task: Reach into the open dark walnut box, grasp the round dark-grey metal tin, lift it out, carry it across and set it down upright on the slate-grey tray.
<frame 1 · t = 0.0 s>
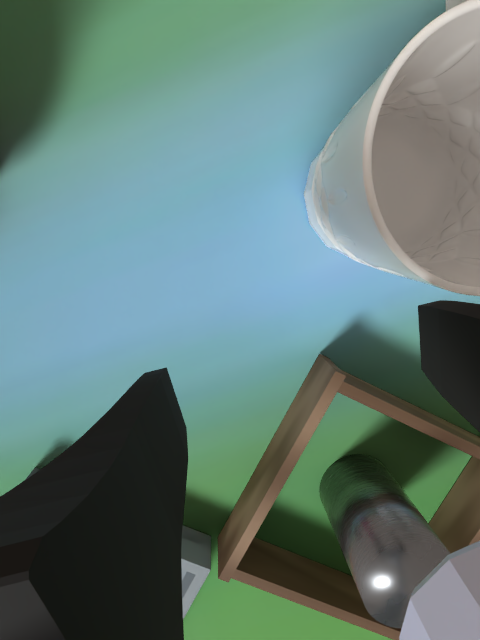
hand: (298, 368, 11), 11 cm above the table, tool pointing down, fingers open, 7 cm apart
slate tray: (88, 576, 24), on the table
white cup: (365, 194, 21), on the table
metal tin: (378, 528, 21), in the walnut box
walnut box: (355, 488, 24), on the table
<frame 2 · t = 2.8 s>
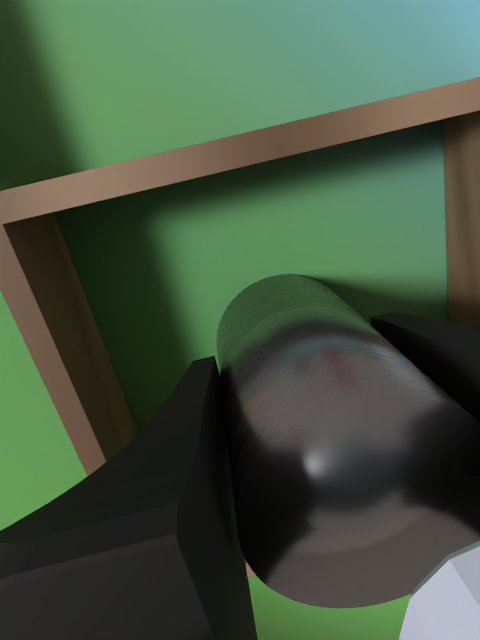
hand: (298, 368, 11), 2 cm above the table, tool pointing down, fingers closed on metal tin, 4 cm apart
metal tin: (313, 398, 10), in the walnut box, touching gripper
walnut box: (284, 340, 13), on the table
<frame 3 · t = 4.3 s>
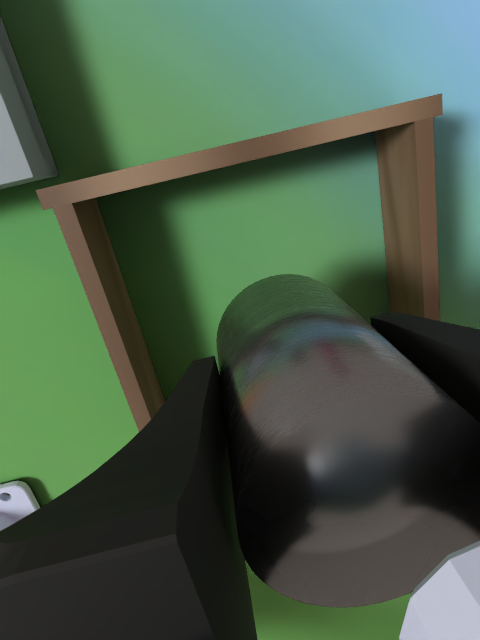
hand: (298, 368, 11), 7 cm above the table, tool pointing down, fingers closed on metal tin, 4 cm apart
metal tin: (313, 397, 10), point 8 cm above the table, touching gripper
walnut box: (263, 296, 17), on the table
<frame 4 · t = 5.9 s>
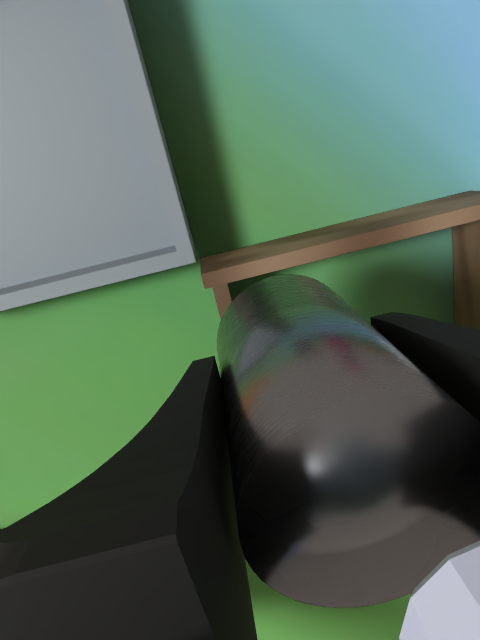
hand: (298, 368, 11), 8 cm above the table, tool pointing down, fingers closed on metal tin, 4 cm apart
slate tray: (26, 150, 16), on the table
metal tin: (314, 398, 10), point 10 cm above the table, touching gripper
walnut box: (351, 341, 21), on the table
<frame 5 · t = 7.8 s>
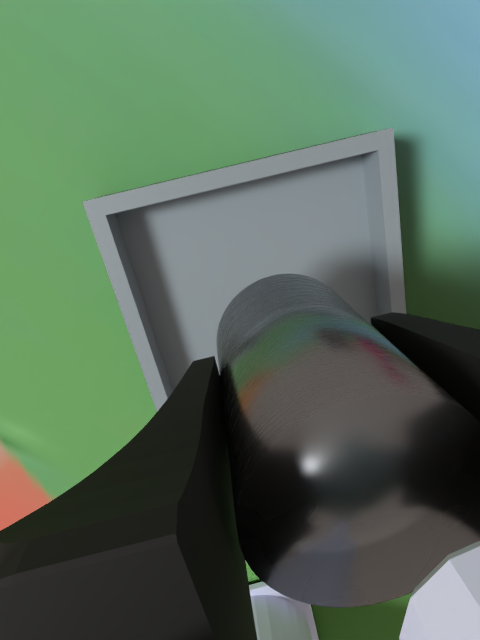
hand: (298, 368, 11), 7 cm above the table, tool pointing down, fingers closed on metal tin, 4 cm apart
slate tray: (259, 292, 18), on the table
metal tin: (313, 397, 10), point 9 cm above the table, touching gripper
when the fingers open (4 cm above the table, at t = 9.2 s): metal tin drops 1 cm, resting on slate tray.
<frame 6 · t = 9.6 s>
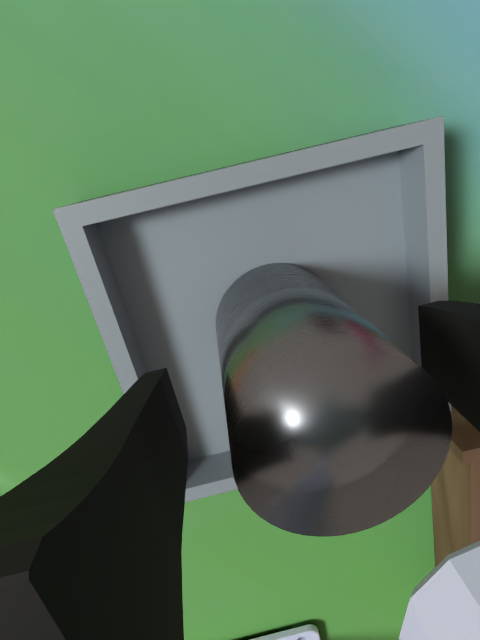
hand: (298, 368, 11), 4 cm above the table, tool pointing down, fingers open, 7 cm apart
slate tray: (271, 314, 15), on the table
metal tin: (300, 368, 11), in the slate tray, point 4 cm above the table
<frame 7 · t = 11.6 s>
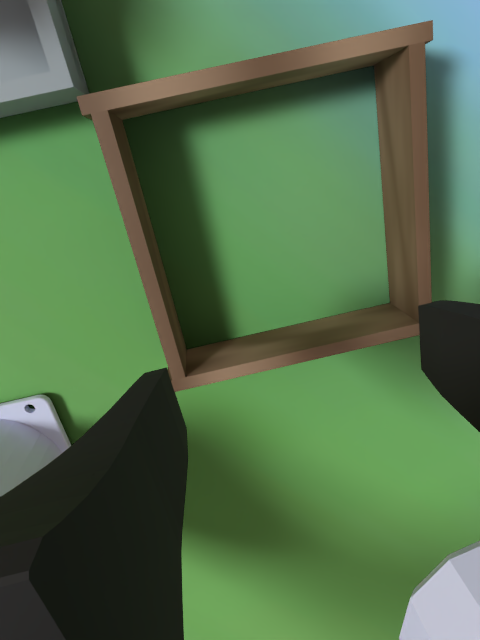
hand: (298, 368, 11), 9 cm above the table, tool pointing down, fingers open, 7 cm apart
walnut box: (271, 221, 19), on the table
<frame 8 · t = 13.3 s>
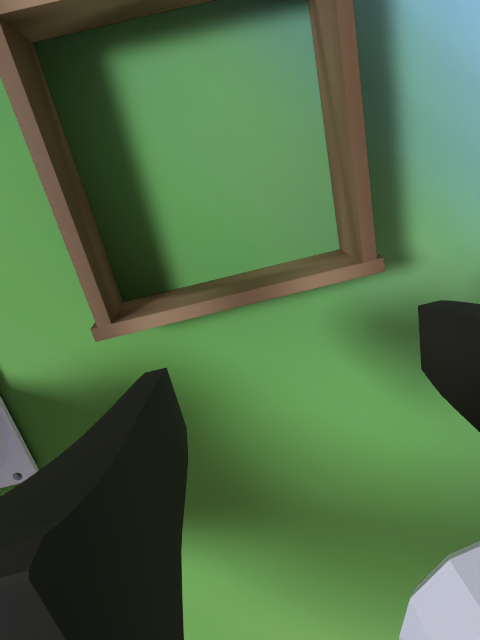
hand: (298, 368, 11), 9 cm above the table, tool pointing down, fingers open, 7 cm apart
walnut box: (204, 158, 18), on the table
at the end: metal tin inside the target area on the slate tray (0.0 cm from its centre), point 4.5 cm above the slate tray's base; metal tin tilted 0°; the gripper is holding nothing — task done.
